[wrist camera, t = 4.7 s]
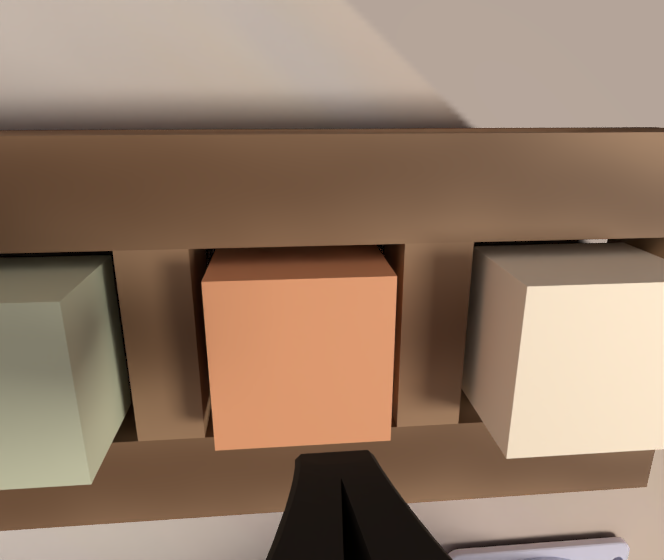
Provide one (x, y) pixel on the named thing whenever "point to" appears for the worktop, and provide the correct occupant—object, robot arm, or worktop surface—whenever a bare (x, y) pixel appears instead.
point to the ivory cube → (566, 348)
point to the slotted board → (314, 230)
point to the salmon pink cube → (300, 345)
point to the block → (59, 369)
